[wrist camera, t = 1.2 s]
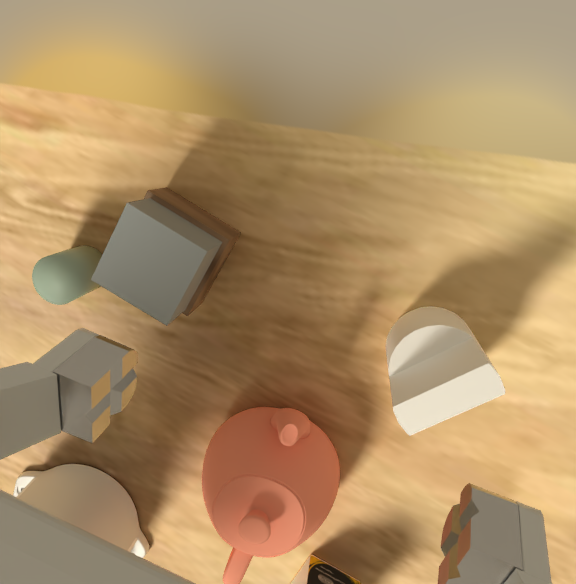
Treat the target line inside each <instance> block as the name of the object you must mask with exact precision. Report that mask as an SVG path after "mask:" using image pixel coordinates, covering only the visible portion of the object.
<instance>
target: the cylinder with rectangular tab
mask: <svg viewBox="0 0 576 584" xmlns="http://www.w3.org/2000/svg"><path fill="white" fill-rule="evenodd" d="M386 355H387V363H388V371H389V379H390V387H391V395H392V403H393V411H394V413H395V416H396V418H397V420H398V423H399V424H400V425H401V427H402V428H403V429H404V430H405V432H406V433H407V434H409V435H410V436H411V435H413V434H415V433H417V432H420V431H422V430H424V429H426V428H429V427H431V426H433V425H436V424H438V423H440V422H442V421H445V420H447V419H449V418H451V417H454V416H456V415H458V414H461V413H463V412H465V411H467V410H470V409H472V408H474V407H477V406H479V405H481V404H483V403H486V402H488V401H490V400H492V399H495V398H497V397H499V396H502V395H504V394H505V389H504V386H503V383H502V380H501V378H500V376H499V374H498V373H497V371H496V369H495V368H494V366H493V365H492V363H491V361H490V360H489V358H488V357H487V355H486V354H485V352H484V350H483V349H482V347H481V346H480V344H479V342H478V341H477V339H476V338H475V336H474V334H473V333H472V331H471V330H470V328H469V327H468V325H467V324H466V323H465V321H464V320H463V319H462V318H461V317H459V316H458V315H457V314H455V313H454V312H452V311H449V310H447V309H445V308H440V307H433V306H430V307H420V308H417V309H414V310H412V311H409V312H407V313H406V314H404V315H403V316H401V317H400V318H399V319H398V320H397V321H396V322H395V323H394V325H393V326H392V327H391V329H390V332H389V334H388V336H387V341H386Z"/></svg>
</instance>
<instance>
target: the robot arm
mask: <svg viewBox="0 0 576 584" xmlns="http://www.w3.org/2000/svg"><path fill="white" fill-rule="evenodd" d="M137 363H138V352H137V351H135V350H134V349H132V348H129V347H127V346H125V345H122V344H120V343H118V342H115V341H113V340H111V339H108V338H106V337H104V336H101V335H98V334H96V333H93V332H91V331H89V330H86V329H84V328H82V329H78V330H76V331H74V332H73V333H72V334H71V335H69V336H68V337H67V338H65V339H64V340H63V341H62V342H60V343H59V344H58V345H56V346H55V347H54V348H53V349H51V350H50V351H49V352H47V353H46V354H45V355H44V356H42V357H41V358H40V359H38V360H37V361H36V362H35V363H33V364H31V363H29V362H25V363H21V364H17V365H13V366H9V367H5V368H1V369H0V460H1V459H3V458H5V457H7V456H9V455H12V454H14V453H16V452H18V451H21V450H23V449H25V448H27V447H30V446H32V445H34V444H36V443H39V442H41V441H43V440H45V439H48V438H50V437H52V436H54V435H57V434H59V433H61V431H64V432H66V433H69V434H71V435H73V436H76V437H78V438H81V439H83V440H86V441H88V442H91V443H93V442H94V441H95V440H96V439H97V438H98V437H99V436H100V435H101V433H102V432H103V431H104V430H105V429H106V428H107V427H108V426H109V425H110V415H113V414H116V413H119V412H121V411H122V410H123V409H124V408H125V407H126V406H127V405H128V403H129V402H130V400H131V398H132V396H133V394H134V392H135V388H136V385H137V375H136V373H135V372H134V370H133V367H134V366H135V365H136V364H137ZM441 549H442V551H443V553H444V555H445V558H444V560H443V562H442V563H441V565H440V566H439V575H438V584H552V583H551V575H550V567H549V558H548V550H547V542H546V534H545V526H544V518H543V514H542V513H541V511H540V510H537V509H535V508H532V507H530V506H527V505H524V504H522V503H519V502H517V501H516V502H515V501H514V500H512V499H509V498H506V497H504V496H501V495H499V494H496V493H494V492H491V491H488V490H486V489H483V488H481V487H478V486H476V485H473V484H470V483H469V484H467V485H466V486H465V487H464V489H463V491H462V492H461V497H460V504H457V505H454V506H453V507H452V509H451V511H450V512H449V514H448V516H447V519H446V522H445V525H444V528H443V533H442V540H441ZM148 551H149V544H148V541H147V540H146V538H145V536H144V534H143V533H142V531H141V530H140V527H139V522H138V515H137V511H136V508H135V505H134V503H133V501H132V499H131V497H130V496H129V494H128V493H127V492H126V490H125V489H124V488H123V487H122V486H121V485H120V484H119V483H118V482H117V481H116V480H115V479H113V478H112V477H111V476H109V475H108V474H106V473H104V472H102V471H100V470H98V469H96V468H93V467H90V466H86V465H80V464H66V465H60V466H57V467H54V468H52V469H49V470H46V471H25V472H23V473H22V474H21V475H20V476H19V477H18V479H17V481H16V485H15V490H14V494H13V495H11V494H8V493H6V492H4V491H2V490H0V584H195V583H193V582H191V581H189V580H187V579H185V578H183V577H181V576H179V575H177V574H174V573H172V572H170V571H168V570H166V569H164V568H162V567H160V566H158V565H156V564H154V563H152V562H150V561H148V560H145V559H143V557H144V556H145V555H146V554H147V552H148ZM134 553H135V554H134Z"/></svg>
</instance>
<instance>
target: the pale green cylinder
mask: <svg viewBox="0 0 576 584" xmlns="http://www.w3.org/2000/svg"><path fill="white" fill-rule="evenodd" d="M101 257H102V254H101V253H100V252H99V251H98V250H97V249H95V248H93V247H91V246H85V245H83V246H78V247H75V248H72V249H69V250H65V251H62V252H59V253H56V254H53V255H50V256H47V257H44V258H42V259H40V260H39V261H38V262H37V263H36V265H35V267H34V269H33V273H32V279H33V284H34V287H35V289H36V291H37V292H38V294H39V295H40V296H41V297H42V298H43V299H45V300H46V301H48V302H50V303H52V304H57V305H62V304H67V303H69V302H71V301H73V300H75V299H77V298H79V297H81V296H83V295H85V294H87V293H89V292H91V291H93V290H95V289H97V288H99V287H100V285H99V284H97V283H95V282H94V281H92V280H91V278H92V276H93V274H94V272H95V270H96V268H97V266H98V263H99V261H100V259H101Z"/></svg>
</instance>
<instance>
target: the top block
mask: <svg viewBox="0 0 576 584" xmlns="http://www.w3.org/2000/svg"><path fill="white" fill-rule="evenodd" d="M221 244H222V241H220V240H218V239H217V238H215V237H213V236H212V235H210V234H208V233H207V232H205V231H203V230H202V229H200V228H199V227H197V226H195V225H194V224H192V223H190V222H189V221H187V220H185V219H184V218H182V217H180V216H179V215H177V214H176V213H174V212H172V211H171V210H169V209H167V208H166V207H164V206H162V205H161V204H159V203H157V202H156V201H154V200H152V199H151V198H149V199H144V200H139V201H134V202H129V203H127V204H126V206H125V208H124V210H123V213H122V215H121V217H120V219H119V221H118V223H117V225H116V227H115V230H114V232H113V234H112V236H111V238H110V240H109V242H108V244H107V246H106V249H105V251H104V253H103V255H102V257H101V259H100V261H99V263H98V266H97V268H96V270H95V272H94V274H93V276H92V278H91V280H92V281H94V282H95V283H97V284H99V285H100V286H102V287H104V288H105V289H107V290H109V291H110V292H112V293H114V294H115V295H117V296H118V297H120V298H122V299H123V300H125V301H127V302H128V303H130V304H132V305H133V306H135V307H137V308H138V309H140V310H142V311H143V312H145V313H147V314H148V315H150V316H152V317H153V318H155V319H157V320H158V321H160V322H162V323H163V324H165V325H166V326H167V325H169V324H170V323H171V322H172V321H173V320H174V319H175V318H177V317H178V316H179V315H180V314H181V313H182V312H184V311H185V310H186V308H187V306H188V304H189V302H190V301H191V299H192V297H193V295H194V293H195V291H196V290H197V288H198V286H199V284H200V282H201V281H202V279H203V277H204V275H205V273H206V271H207V270H208V268H209V266H210V264H211V262H212V261H213V259H214V257H215V255H216V253H217V251H218V250H219V248H220V246H221Z"/></svg>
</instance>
